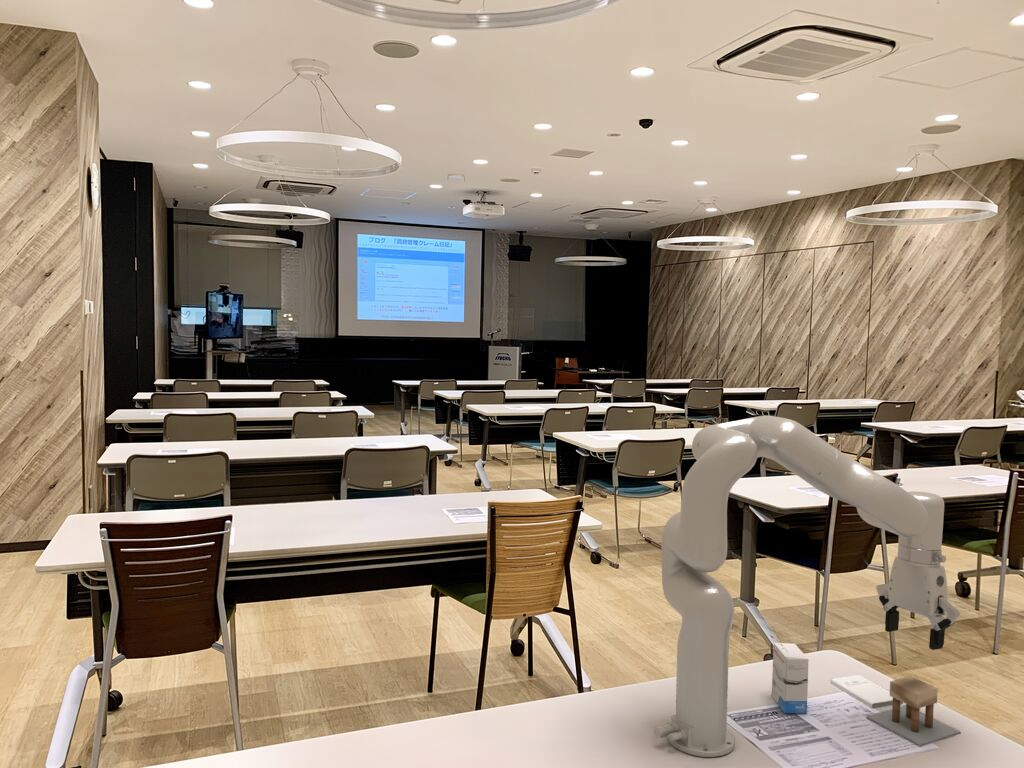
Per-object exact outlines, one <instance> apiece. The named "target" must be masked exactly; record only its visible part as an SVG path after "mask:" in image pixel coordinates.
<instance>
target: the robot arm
mask: <svg viewBox="0 0 1024 768" xmlns="http://www.w3.org/2000/svg"><path fill="white" fill-rule="evenodd" d="M691 443H692V444H691V452H692V455H693V457H694V459H695V460H696V461H695V462H694V463H693V465H692V466H691V467H690V468H689V470H688V472H687V474H686V475H685V477H684V480H683V483H682V488H681V493H680V494H681V495H680V496H681V497H680V511H679V512H677V513H675V514H673V515H672V516H670V518H669V519H668V520H667V521H666V522H665V525H664V527H663V531H662V534H661V586H662V592H663V595H664V598H665V599H666V601H667V602H668V604H669V605H670V606H671V608H673V609H674V610H675V611H676V612H677V613H678V614H679V615H680V616H681V626H680V631H679V634H678V638H677V646H676V681H675V682H676V683H675V684H676V685H675V686H676V687H675V688H676V689H675V714H673V715H670V722H669V721H668V722H667V723H666V724H665V725H660V726H657V727H654V735H655V737H656V738H657V739H662V738H665V737H667V741H668V742H669V744H671V745H672V746H673V747H675V748H676V749H677V750H679V751H681V752H683V753H686V754H688V755H692V756H697V757H702V758H715V757H717V758H718V757H722V756H725V755H727V754H730V753H731V752H732V751H733V750H734V748H735V743H736V742H735V737H734V734H733V732H731V731H730V730H729V729H728V728H727V727H728V726H727V723H728V722H727V721H728V718H727V717H728V692H729V689H728V685H729V683H728V682H729V655H730V653H729V651H730V638H731V631H732V627H733V623H734V617H735V603H734V600H733V598H732V595H731V594H730V592H729V591H728V589H727V588H726V587H725V586H724V584H722V583H721V582H720V581H718V580H717V579H715V578H714V577H713V576H712V575H709V574H708V573H713V572H716V571H718V570H720V568H722V566H723V565H724V564H725V562H726V559H727V555H728V500H729V495H730V492H731V490H732V488H733V486H734V485H736V483H737V482H738V481H739V480H740V479H741V478H742V477H744V475H746V474H747V473H749V472H750V471H751V470H752V468H753V467H754V466H755V464H756V462H757V460H758V458H762V457H763V458H766V459H769V460H772V461H774V462H776V463H778V464H779V465H781V466H782V467H784V468H785V469H787V470H788V471H789V472H791V473H793V474H794V475H796V476H797V477H799V478H800V479H802V480H803V481H805V482H806V483H807V484H809V485H810V486H812V487H813V488H815V489H816V490H817V491H819V492H821V493H823V494H825V495H827V496H829V497H831V498H833V499H834V500H835V499H836V500H837V501H841V502H843V503H846V504H848V505H850V506H852V507H855V508H856V510H857V511H856V512H857V513H858V516H859V517H860V518H861V519H862V520H863V521H864V522H866V523H867V524H869V525H871V526H873V527H876V528H879V529H881V530H885V531H887V532H889V533H892V534H894V535H896V536H898V546H897V556H895V557H894V560H893V562H892V566H891V571H890V576H889V582H887V583H882V584H878V585H876V586H875V589H876V592H877V595H878V596H879V597H878V599H879V602H881V603H880V604H882V609H883V611H884V612H885V621H884V625H885V626H884V627H885V628H884V629H885V630H884V631H885V632H888V633H889V632H890V633H891V632H897V631H898V630H899V623H900V621H899V620H900V610H898V609H899V608H900V609H903V610H905V611H908V612H912V613H914V614H916V615H919V616H922V617H925V618H927V619H928V621H929V622H930V624H931V626H932V627H933V628H931V629H930V631H929V642H928V643H929V644H928V647H929V650H932V651H935V650H940V649H942V648H943V647H944V644H945V634H946V630H947V629H949V628H950V627H951V626H953V625H955V623H956V620H958V618H959V616H960V613H961V612H960V611H959V610H958V609H957V608H956V607H954V605H952V604H951V602H949V601H948V583H947V582H948V579H947V574H946V569H945V566H944V565H942V564H941V563H943V564H944V563H945V562H946V560H947V557H946V556H945V555H943V554H942V545H943V543H942V541H943V531H944V530H943V529H944V515H945V514H944V513H945V501H944V499H943V498H942V496H941V495H938V494H936V493H931V492H926V491H906V490H905V489H904V488H903V487H901V486H899V485H898V484H897V483H895V482H893V481H892V480H890V479H888V478H886V477H884V476H883V475H881V474H879V473H878V472H876V471H874V470H872V469H870V468H868V467H867V466H866V465H864V464H862V463H860V462H858V461H857V460H856V459H853V458H852V457H850V456H848V455H846V454H845V453H843V452H842V451H840V450H839V449H837V448H836V447H835V446H833V445H831V444H830V443H828V442H827V441H826V440H824V439H823V438H821V436H818V435H817V434H815V433H814V432H812V431H811V430H810V429H808V428H807V427H805V426H804V425H803V424H801V423H799V422H797V421H796V420H793V419H790V418H786V417H780V416H774V415H760V416H759V415H758V416H754V417H748V418H743V419H738V420H733V421H727V422H722V423H717V424H711V425H708V426H705V427H704V428H701V429H700V430H699V431H698V432H697V433H696V434H695V435H694V436H693V439H692V442H691ZM944 615H946V617H944Z"/></svg>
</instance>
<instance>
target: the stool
mask: <svg viewBox="0 0 1024 768" xmlns="http://www.w3.org/2000/svg"><path fill="white" fill-rule="evenodd" d="M889 692H890V696H891V697H893V703H892V705H891V706H892V707H891V709H892V721H893V722H895V723H899V722H900V706H901V704H900V701H901V702H903V703H904V704H905V705H906V717H907V718H910V719H911V731H912V732H916V733H918V732H919V713H920V712H921V711H920V709H921V708H925V711H924V714H925V727H927V728H933V718H934V710H935V709H934V708H935V707H934V705H935V704H938V687H936V686H934V685H931V684H929V683H927V682H925V681H922V680H920V679H917V678H916V677H913V676H912V675H911V676H905V677H902V678H901V677H900V678H899V679H894V680H891V681H890V682H889Z"/></svg>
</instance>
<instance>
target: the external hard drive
mask: <svg viewBox="0 0 1024 768" xmlns="http://www.w3.org/2000/svg"><path fill="white" fill-rule="evenodd" d="M830 684H831V685H833V686H834V687H836V688H838V689H839V690H840V691H842V692H844V693H846V694H848V695H849V696H851V697H853V698H854V699H855V700H856V701H859V702H860V703H863V704H864V705H865V706H867V707H869V708H871V709H876V708H882V707H889V706H892V703H893V697H891V696H890V690H889V691H888V690H886V689H885V688H883V687H881V686H880V685H878V684H876V683H874V682H872V681H870V680H869V679H867V678H865V677H864V676H861V675H860V674H856V675H855V674H853V675H848V676H843V677H842V676H839V677H835V678H831V679H830ZM903 703H904V702H901V701H900V705H901V704H903ZM903 705H904V704H903Z"/></svg>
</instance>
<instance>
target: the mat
mask: <svg viewBox="0 0 1024 768" xmlns="http://www.w3.org/2000/svg"><path fill="white" fill-rule="evenodd" d="M865 719H867V720H869V721H871V722H872V721H873V723H875V724H877V725H879V726H880V727H882V728H884V729H886V730H888V731H889V732H891V731H892V733H893V734H895V735H897V736H899V737H900V738H901V737H902V738H903V739H904V740H906V741H909V742H910V743H913V744H914V745H916V746H918V747H923V746H926V745H929V744H932V743H936V742H939V741H943V740H945V739H947V738H951V737H954V736H957V735H959V734H961V733H962V732H961V730H959V729H956V728H955V727H952V726H950V725H948V724H946V723H945V722H943V721H940V720H938V719H936V718H934V717H933V728H927V727H925V712H924V713H923V712H921V711H920V713H919V732H918V733H916V732H912V731H911V719H910V718H907V717H906V704H903V705H900V722H899V723H895V722H893V721H892V708H890V709H887V710H884V711H880V712H876V713H873V714H869V715H866V716H865Z"/></svg>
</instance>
